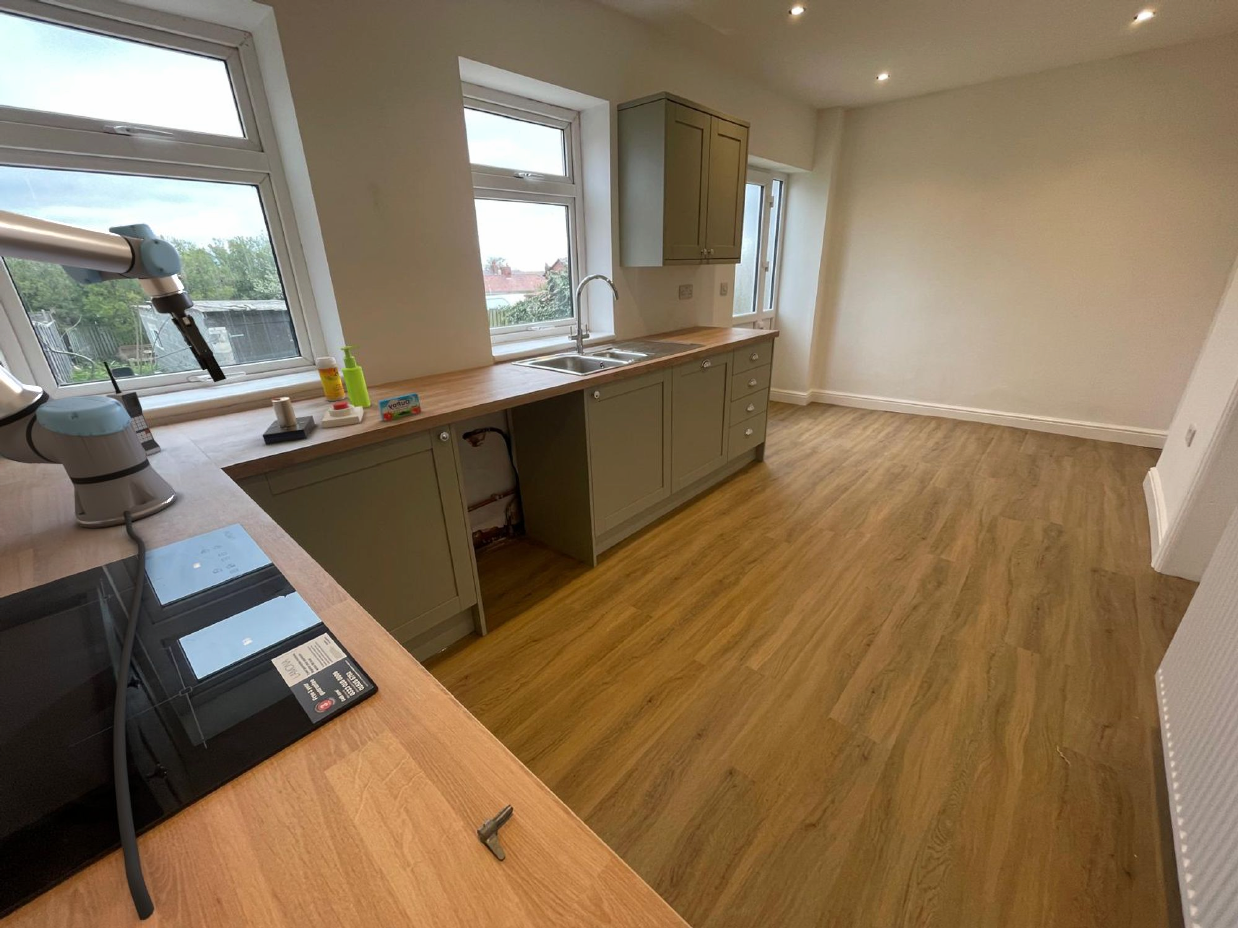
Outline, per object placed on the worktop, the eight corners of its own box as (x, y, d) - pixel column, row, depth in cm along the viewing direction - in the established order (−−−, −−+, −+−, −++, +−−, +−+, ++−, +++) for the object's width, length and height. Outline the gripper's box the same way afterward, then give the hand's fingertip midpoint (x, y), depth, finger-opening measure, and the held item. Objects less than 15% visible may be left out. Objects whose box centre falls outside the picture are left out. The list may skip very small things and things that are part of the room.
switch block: (360, 423, 153) (356, 410, 151) (323, 428, 150) (319, 415, 148) (363, 412, 163) (360, 400, 162) (329, 417, 160) (326, 405, 158)
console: (306, 439, 141) (303, 428, 140) (265, 445, 138) (262, 434, 137) (315, 424, 153) (312, 415, 152) (277, 430, 150) (274, 420, 149)
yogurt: (384, 421, 153) (379, 402, 151) (382, 420, 154) (377, 401, 151) (421, 412, 161) (417, 393, 158) (419, 411, 162) (415, 392, 159)
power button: (347, 409, 154) (346, 404, 153) (333, 411, 153) (331, 406, 152) (349, 406, 157) (347, 401, 157) (335, 408, 156) (333, 402, 155)
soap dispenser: (377, 404, 172) (362, 345, 164) (358, 409, 166) (342, 349, 159) (367, 402, 175) (352, 344, 167) (348, 407, 169) (332, 348, 162)
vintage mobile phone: (147, 455, 134) (105, 363, 124) (133, 455, 135) (90, 363, 125) (162, 450, 138) (122, 359, 128) (147, 449, 139) (107, 359, 129)
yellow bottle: (340, 401, 178) (328, 359, 172) (323, 402, 178) (311, 359, 172) (348, 396, 183) (337, 355, 177) (332, 397, 183) (321, 356, 177)
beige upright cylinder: (298, 421, 147) (290, 395, 144) (295, 425, 143) (287, 399, 140) (281, 423, 146) (273, 397, 142) (278, 428, 142) (269, 401, 139)
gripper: (196, 296, 116) (242, 380, 128) (176, 283, 131) (219, 359, 143) (157, 305, 112) (208, 391, 124) (141, 290, 127) (188, 368, 139)
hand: (214, 374), depth 134 cm, fingers open, 13 cm apart
